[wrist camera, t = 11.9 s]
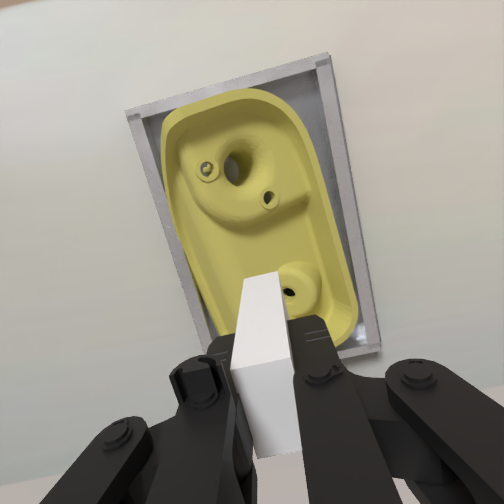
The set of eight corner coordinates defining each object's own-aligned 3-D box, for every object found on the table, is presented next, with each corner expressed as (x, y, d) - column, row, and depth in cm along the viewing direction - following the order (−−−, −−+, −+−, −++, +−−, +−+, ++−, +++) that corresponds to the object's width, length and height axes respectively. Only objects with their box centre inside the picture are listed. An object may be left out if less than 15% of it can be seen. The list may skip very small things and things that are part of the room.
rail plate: (213, 370, 32) (209, 387, 30) (130, 115, 27) (117, 111, 24) (377, 335, 31) (387, 350, 29) (327, 59, 25) (334, 47, 23)
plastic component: (364, 328, 27) (261, 396, 24) (312, 301, 34) (226, 352, 31) (294, 70, 21) (144, 116, 18) (247, 100, 28) (132, 137, 24)
